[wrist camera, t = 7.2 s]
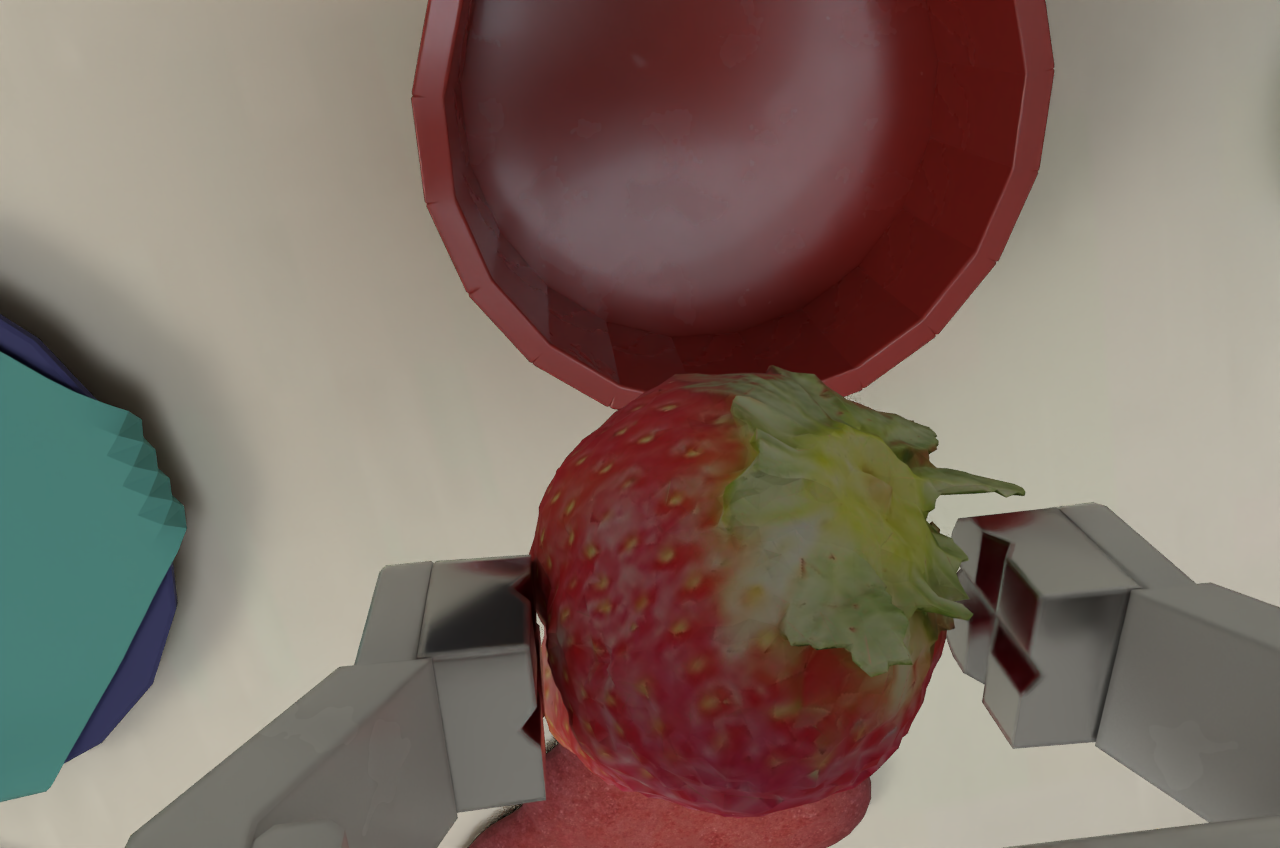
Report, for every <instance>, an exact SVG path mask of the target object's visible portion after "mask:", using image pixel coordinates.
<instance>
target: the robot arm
mask: <svg viewBox="0 0 1280 848" xmlns="http://www.w3.org/2000/svg"><path fill="white" fill-rule="evenodd" d="M951 538H952V539H953V542H954V543H955V544H957V545H958V546H959V547H960V548H961V549H962V550H963V551H964V553H965V554H966V555H967V556H968V559H969V560H968V561H965V562H961V564H960V568H961V569H960V570H959V571H958V572H957V573H956V574H957V576H958V579H959V581H960V584H961V586H962V587H963V589H964V591H965V592H966V594H967V596H968V597H969V599H966V600H960V601H954V602H957V603H960V604H963V605H964V606H965V607H966V608H967V609H968V610H969V611H970V612H972V613H973V616H972V617H971V618H970V620H961V619H956V618H953V620H954V625H955V629H952V630H947V634H946V639H947V642H948V644H949V647H950V650H951V652H952V655H953V657H954V659H955V660H956V662H957V663H958V665H959V667H960V668H961V670H962V671H963V673H965V674H967V675H968V676H970V677H972V678H974V679H976V680H977V681H979V682H981V683H983V684H985V686H984V693H983V700H982V703H983V704H984V706H985V707H986V709H987V710H988V712H989V713H990V715H991V716H992V718H993V719H994V721H995V722H996V724H997V725H998V727H999V728H1000V730H1001V731H1002V733H1003V734H1004V736H1005V738H1006V739H1007V741H1008V742H1009V744H1010V745H1011V747H1012V748H1013V749H1015V748H1027V747H1039V746H1051V745H1063V744H1076V743H1088V742H1096V743H1095V746H1096V747H1098V748H1099V749H1101V750H1102V751H1104V752H1105V753H1107V754H1108V755H1110V756H1111V757H1112V758H1114V759H1115V760H1117V761H1118V762H1120V763H1121V764H1123V765H1124V766H1126V767H1127V768H1129V769H1130V770H1132V771H1133V772H1135V773H1136V774H1138V775H1139V776H1141V777H1142V778H1144V779H1145V780H1147V781H1148V782H1150V783H1151V784H1153V785H1154V786H1156V787H1157V788H1159V789H1160V790H1162V791H1163V792H1165V793H1166V794H1168V795H1169V796H1171V797H1172V798H1173V799H1175V800H1176V801H1178V802H1179V803H1181V804H1182V805H1184V806H1185V807H1187V808H1188V809H1190V810H1191V811H1193V812H1194V813H1196V814H1197V815H1199V816H1200V817H1202V818H1203V819H1205V820H1206V821H1208V822H1209V823H1204V824H1196V825H1188V826H1179V827H1171V828H1162V829H1154V830H1145V831H1137V832H1129V833H1120V834H1112V835H1103V836H1095V837H1087V838H1078V839H1070V840H1061V841H1053V842H1045V843H1037V844H1029V845H1020V846H1012V847H1004V848H1280V608H1279V607H1277V606H1274V605H1271V604H1268V603H1266V602H1263V601H1260V600H1257V599H1255V598H1252V597H1249V596H1246V595H1244V594H1241V593H1238V592H1235V591H1233V590H1230V589H1227V588H1224V587H1222V586H1219V585H1216V584H1213V583H1200V584H1196V583H1195V582H1194V581H1192V580H1191V579H1190V578H1189V577H1188V576H1187V575H1186V574H1184V573H1183V572H1182V571H1181V570H1180V569H1179V568H1177V567H1176V566H1175V565H1174V564H1173V563H1172V562H1170V561H1169V560H1168V559H1167V558H1166V557H1165V556H1164V555H1162V554H1161V553H1160V552H1159V551H1158V550H1157V549H1155V548H1154V547H1153V546H1152V545H1151V544H1150V543H1148V542H1147V541H1146V540H1145V539H1144V538H1143V537H1142V536H1140V535H1139V534H1138V533H1137V532H1136V531H1135V530H1133V529H1132V528H1131V527H1130V526H1129V525H1128V524H1126V523H1125V522H1124V521H1123V520H1122V519H1121V518H1120V517H1118V516H1117V515H1116V514H1115V513H1114V512H1113V511H1111V510H1110V509H1109V508H1108V507H1107V506H1104V505H1101V504H1098V503H1094V502H1091V503H1083V504H1075V505H1067V506H1060V507H1052V508H1046V509H1038V510H1029V511H1020V512H1011V513H1002V514H994V515H985V516H976V517H967V518H958V520H957V522H956V525H955V527H954V529H953V531H952V537H951ZM544 716H545V704H544V681H543V663H542V651H541V639H540V628H539V625H538V624H537V623H536V595H535V586H534V577H533V564H532V556H531V555H517V556H503V557H488V558H474V559H459V560H444V561H436V562H435V563H433V562H432V561H425V562H415V563H405V564H395V565H386V566H385V567H384V568H383V569H382V570H381V571H380V572H379V575H378V579H377V583H376V586H375V590H374V594H373V597H372V601H371V605H370V609H369V612H368V616H367V620H366V623H365V627H364V631H363V634H362V638H361V642H360V645H359V649H358V653H357V657H356V660H355V664H354V665H353V666H343V667H339V668H337V669H336V670H335V671H334V672H332V673H331V674H330V675H329V676H327V677H326V678H325V679H324V680H323V681H321V682H320V683H319V684H318V685H316V686H315V687H314V688H313V689H311V690H310V691H309V692H308V693H306V694H305V695H304V696H303V697H301V698H300V699H299V700H298V701H297V702H295V703H294V704H293V705H292V706H290V707H289V708H288V709H287V710H285V711H284V712H283V713H282V714H280V715H279V716H278V717H277V718H275V719H274V720H273V721H272V722H271V723H269V724H268V725H267V726H266V727H264V728H263V729H262V730H261V731H259V732H258V733H257V734H256V735H254V736H253V737H252V738H251V739H250V740H248V741H247V742H246V743H245V744H243V745H242V746H241V747H240V748H238V749H237V750H236V751H235V752H233V753H232V754H231V755H230V756H228V757H227V758H226V759H225V760H224V761H222V762H221V763H220V764H219V765H217V766H216V767H215V768H214V769H212V770H211V771H210V772H209V773H207V774H206V775H205V776H204V777H202V778H201V779H200V780H199V781H198V782H196V783H195V784H194V785H193V786H191V787H190V788H189V789H188V790H186V791H185V792H184V793H183V794H181V795H180V796H179V797H178V798H176V799H175V800H174V801H173V802H172V803H170V804H169V805H168V806H167V807H165V808H164V809H163V810H162V811H160V812H159V813H158V814H157V815H155V816H154V817H153V818H152V819H151V820H149V821H148V822H147V823H146V824H144V825H143V826H142V827H141V828H139V829H138V830H137V831H136V832H134V833H133V834H132V835H131V836H130V838H129V840H128V842H127V844H126V846H125V848H437V847H438V845H439V844H440V842H441V841H442V840H443V838H444V837H445V835H446V834H447V832H448V831H449V829H450V828H451V827H452V825H453V824H454V822H455V821H456V819H457V818H458V817H457V813H458V812H465V811H473V810H480V809H487V808H494V807H501V806H509V805H516V804H523V803H530V802H537V801H545V800H546V748H545V737H544V727H543V717H544Z"/></svg>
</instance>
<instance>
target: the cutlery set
mask: <svg viewBox="0 0 1280 848" xmlns="http://www.w3.org/2000/svg"><path fill="white" fill-rule="evenodd" d="M186 529H187V526H186V518H185V510H184V506H183V505H182V504H181V503H180V502H179V501H178V500H177V499H176V498H175V497H174V496H173V495H172V493H171V485H170V478H169V477H167V476H166V475H165V474H164V473H163V472H162V471H161V470H160V469H158V466H157V457H156V450H155V449H154V447H153V446H152V445H151V444H150V443H149V442H148V441H147V440H146V439H145V438H144V437H143V428H142V419H140V418H139V417H137V416H135V415H134V414H132V413H131V412H129V411H126V410H123V409H120V408H117V407H114V406H111V405H108V404H105V403H102V402H99V401H98V400H97V399H96V398H95V397H94V396H93V395H92V394H91V393H90V392H89V391H88V390H87V389H86V388H85V387H84V386H83V384H82V383H81V382H80V381H79V380H78V379H77V378H76V377H75V376H74V375H73V374H72V373H71V372H70V371H69V370H68V369H67V368H66V367H65V365H64V364H63V363H62V362H61V361H60V360H59V359H58V358H57V357H56V356H55V355H54V354H53V353H52V352H51V351H50V350H49V349H48V347H47V346H46V345H45V344H44V343H43V342H42V341H41V340H40V339H39V338H37V337H36V336H34V335H33V334H31V333H30V332H28V331H26V330H25V329H23V328H22V327H20V326H19V325H17V324H15V323H14V322H12V321H11V320H9V319H8V318H6V317H4V316H3V315H1V314H0V802H2V801H7V800H11V799H16V798H20V797H24V796H29V795H33V794H37V793H42V792H46V791H47V790H48V789H49V788H50V787H51V785H52V784H53V782H54V780H55V778H56V777H57V775H58V773H59V771H60V769H61V767H62V766H63V764H64V763H66V762H68V761H69V760H71V759H73V758H75V757H77V756H78V755H80V754H82V753H84V752H86V751H87V750H89V749H91V748H93V747H95V746H97V745H98V744H100V743H102V742H103V741H104V739H105V738H106V737H107V736H108V735H109V734H110V732H111V731H112V730H113V729H114V728H115V727H116V726H117V724H118V723H119V722H120V721H121V720H122V719H123V718H124V716H125V715H126V714H127V713H128V712H129V711H130V709H131V708H132V707H133V706H134V705H135V704H136V703H137V701H138V700H139V699H140V698H141V697H142V696H143V694H144V693H145V692H146V691H147V690H148V689H149V688H150V686H151V685H152V684H153V682H154V678H155V675H156V672H157V669H158V666H159V662H160V659H161V656H162V653H163V650H164V646H165V643H166V640H167V637H168V633H169V630H170V627H171V624H172V621H173V617H174V614H175V611H176V607H177V603H178V602H177V593H176V584H175V575H174V566H173V560H174V558H175V556H176V554H177V552H178V550H179V547H180V545H181V542H182V540H183V537H184V534H185V532H186Z"/></svg>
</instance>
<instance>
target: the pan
mask: <svg viewBox="0 0 1280 848" xmlns="http://www.w3.org/2000/svg"><path fill="white" fill-rule="evenodd" d="M1053 68H1054V59H1053V52H1052V45H1051V38H1050V30H1049V23H1048V16H1047V9H1046V2H1045V0H428V4H427V9H426V15H425V20H424V26H423V32H422V37H421V43H420V48H419V54H418V60H417V65H416V71H415V77H414V82H413V88H412V95H413V96H412V98H411V101H412V109H413V117H414V124H415V132H416V139H417V147H418V155H419V162H420V170H421V177H422V185H423V193H424V200H425V203H427V209H428V211H429V213H430V215H431V217H432V219H433V221H434V224H435V226H436V228H437V230H438V232H439V234H440V236H441V239H442V241H443V243H444V245H445V247H446V249H447V251H448V254H449V256H450V258H451V260H452V262H453V264H454V266H455V269H456V271H457V273H458V275H459V277H460V279H461V281H462V284H463V286H464V288H465V290H466V292H467V293H469V297H470V298H471V299H472V300H473V301H474V302H475V303H476V304H477V305H478V307H479V308H480V309H481V310H482V311H483V312H484V313H485V314H486V315H487V316H488V317H489V318H490V320H491V321H492V322H493V323H494V324H495V325H496V326H497V327H498V328H499V329H500V330H501V331H502V333H503V334H504V335H505V336H506V337H507V338H508V339H509V340H510V341H511V342H512V343H513V345H514V346H515V347H516V348H517V349H518V350H519V351H520V352H521V353H522V354H523V355H524V356H525V358H526V359H527V360H528V361H529V362H531V363H532V362H533V364H534V365H535V366H536V367H538V368H540V369H542V370H543V371H545V372H547V373H549V374H550V375H552V376H554V377H556V378H557V379H559V380H561V381H563V382H564V383H566V384H568V385H570V386H571V387H573V388H575V389H577V390H578V391H580V392H582V393H584V394H585V395H587V396H589V397H591V398H592V399H594V400H596V401H598V402H599V403H601V404H603V405H605V406H607V407H609V406H610V407H611V408H613V409H617V410H620V409H621V408H623V407H625V406H626V405H627V404H628V403H629V402H630V401H633V400H635V399H636V398H637V397H639V396H640V395H641V394H643V393H645V392H647V391H649V390H651V389H653V388H655V387H657V386H659V385H660V384H662V383H663V382H665V381H666V380H668V379H669V378H671V377H672V376H674V375H675V374H694V373H698V374H709V375H722V374H733V373H766V371H767V369H768V367H769V366H771V365H774V366H776V367H779V368H782V369H785V370H787V371H790V372H796V373H807V374H815V375H816V376H817V377H818V378H819V379H820V380H821V381H822V382H823V383H824V384H825V385H826V386H828V387H829V388H831V389H832V390H834V391H835V392H837V393H838V394H840V395H841V396H843V397H845V396H848V395H850V394H853V393H856V392H858V391H861V390H862V388H865V387H867V386H868V385H870V384H871V383H872V382H874V381H875V380H876V379H878V378H879V377H881V376H882V375H883V374H885V373H886V372H888V371H889V370H890V369H892V368H893V367H895V366H896V365H897V364H899V363H900V362H902V361H903V360H904V359H906V358H907V357H908V356H910V355H911V354H913V353H914V352H915V351H917V350H918V349H920V348H921V347H922V346H924V345H925V344H927V343H928V342H929V341H931V340H932V339H933V338H935V336H936V335H935V334H939V333H940V332H941V331H942V329H943V328H944V327H945V326H946V324H947V323H948V322H949V321H950V320H951V318H952V317H953V316H954V315H955V313H956V312H957V311H958V310H959V309H960V307H961V306H962V305H963V304H964V302H965V301H966V300H967V299H968V298H969V296H970V295H971V294H972V293H973V291H974V290H975V289H976V288H977V287H978V285H979V284H980V283H981V282H982V280H983V279H984V278H985V277H986V275H987V274H988V273H989V272H990V271H991V269H992V268H993V267H994V266H995V264H996V261H999V259H1000V257H1001V254H1002V252H1003V250H1004V248H1005V246H1006V243H1007V241H1008V239H1009V237H1010V234H1011V232H1012V230H1013V228H1014V226H1015V223H1016V221H1017V219H1018V217H1019V214H1020V212H1021V210H1022V208H1023V206H1024V203H1025V201H1026V199H1027V197H1028V194H1029V192H1030V190H1031V188H1032V186H1033V183H1034V181H1035V179H1036V177H1037V175H1038V170H1039V168H1040V162H1041V155H1042V149H1043V142H1044V136H1045V129H1046V123H1047V116H1048V110H1049V103H1050V97H1051V90H1052V83H1053V77H1054V69H1053Z"/></svg>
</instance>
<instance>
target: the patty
mask: <svg viewBox="0 0 1280 848" xmlns="http://www.w3.org/2000/svg"><path fill="white" fill-rule="evenodd" d="M870 800H871V780H870V777H868V778H867V779H866V780H864V781H863V782H862V783H860V784H859V785H858V786H856V787H855V788H854V789H850V790H847V791H843V792H839V793H836V794H833V795H830V796H828V797H827V798H824V799H821V800H820V801H818V802H816V803H810V804H805V805H802V806H799V807H795V808H790V809H786V810H782V811H777V812H773V813H770V814H768V815H766V816H764V817H744V818H739V819H737V818H734V817H723V816H720V815H717V814H713V813H708V812H704V811H698V810H692V809H688V808H686V807H683V806H681V805H678V804H676V803H672V802H669V801H666V800H663V799H657V798H647V797H646V796H644V795H643V794H641V793H640V792H625V791H621V790H620V789H619V788H617V787H616V786H615V785H608V784H607V783H606V782H604V781H603V780H602V779H601V778H600V777H598V776H597V775H595V774H594V773H592V772H591V771H590V770H589V769H588V768H587V767H586V766H585V765H584V764H583V763H582V761H581V760H580V759H579V758H578V757H577V755H576V754H574V753H573V752H571V751H570V750H568V749H567V748H565V747H564V746H562V745H561V744H560V743H558V745H556V746H555V747H554V748H553V749H552V750H551V751H549V752H548V753H546V800H545V801H537V802H530V803H523V804H522V806H521V807H520V808H519V809H517V810H516V811H514V812H513V813H511V814H509V815H508V816H506V817H504V818H503V819H501V820H499V821H497V822H496V823H494V824H492V825H491V826H490V827H488V828H487V829H486V830H485V831H483V832H482V833H481V834H480V835H479V836H478V837H477V838H476V839H475V840H474V841H473V843H472V844H471V845H470V846H469V847H468V848H826V847H829V846H831V845H833V844H835V843H837V842H838V841H840V840H842V839H843V838H845V837H846V836H848V835H849V834H850V833H851V832H852V830H853V829H854V828H855V827H856V826H857V825H858V824H859V823H860V822H861V820H862V819H863V817H864V815H865V813H866V811H867V808H868V805H869V803H870Z"/></svg>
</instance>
